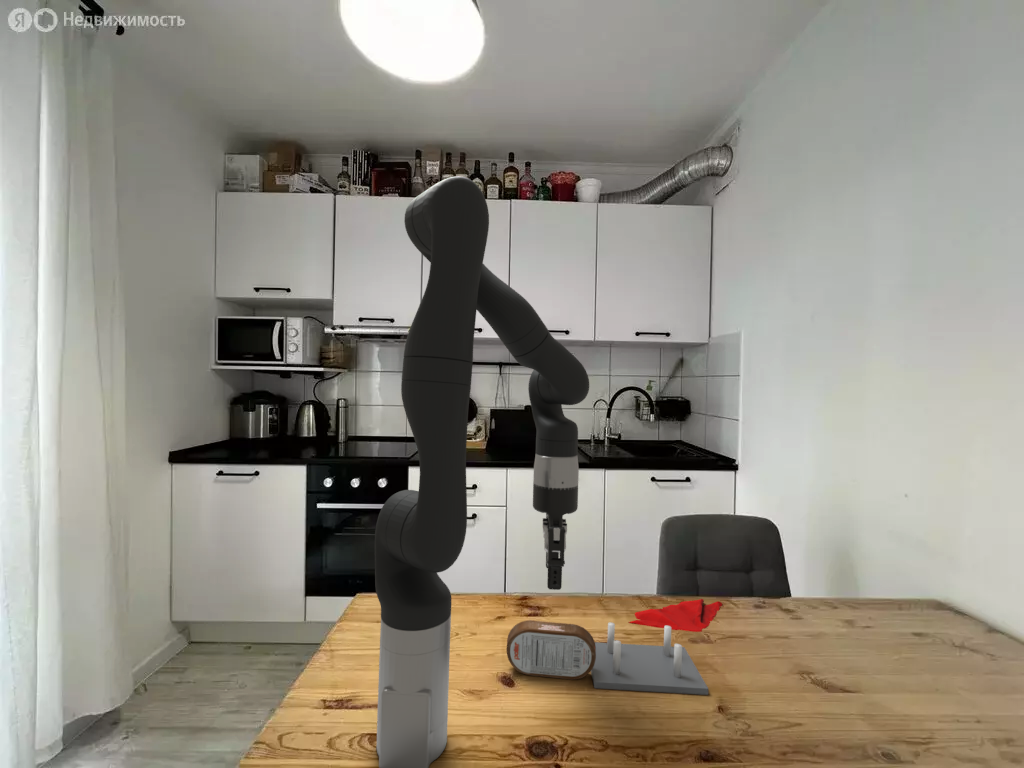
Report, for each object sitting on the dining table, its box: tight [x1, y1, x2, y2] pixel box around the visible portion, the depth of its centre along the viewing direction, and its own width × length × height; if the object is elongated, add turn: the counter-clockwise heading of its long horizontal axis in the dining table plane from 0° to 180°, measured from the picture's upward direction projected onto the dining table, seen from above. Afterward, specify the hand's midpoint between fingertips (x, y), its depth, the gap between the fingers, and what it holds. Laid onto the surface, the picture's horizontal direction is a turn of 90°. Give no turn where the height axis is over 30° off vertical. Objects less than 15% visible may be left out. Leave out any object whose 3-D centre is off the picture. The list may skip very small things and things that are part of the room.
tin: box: [506, 619, 596, 681], centre depth 79 cm, size 15×3×8 cm, turn 84°
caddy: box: [590, 621, 709, 696], centre depth 82 cm, size 12×18×6 cm, turn 87°
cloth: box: [627, 598, 723, 633], centre depth 102 cm, size 26×14×2 cm, turn 101°
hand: (553, 577), depth 80 cm, fingers open, 8 cm apart
